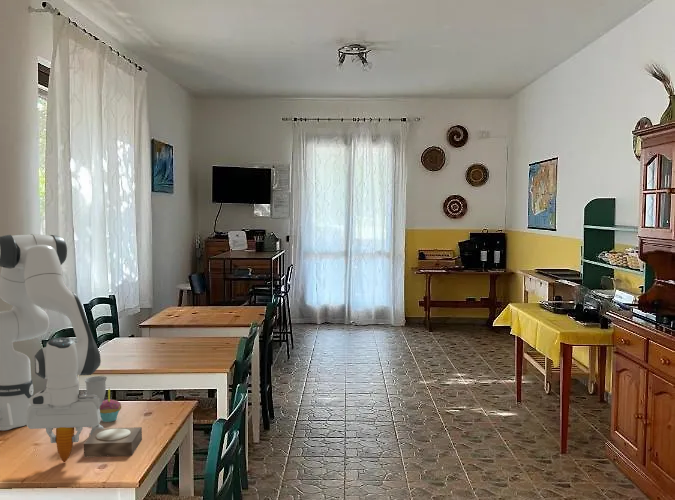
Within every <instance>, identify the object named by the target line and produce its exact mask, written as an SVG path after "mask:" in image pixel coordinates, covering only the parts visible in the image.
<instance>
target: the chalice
mask: <svg viewBox="0 0 675 500" xmlns="http://www.w3.org/2000/svg"><path fill="white" fill-rule="evenodd" d="M107 379H108V378H107V376H104V375H101V376H91V377H87V378H85V379H84V382H85V385H86V386H85V388H86V392H85V393H86V395H90V394H94V395H95V396H98V397H99V398H100V406H101V404H102V402H103V400H105V397H106V392H107V387H106V386H107V384H106V382H107ZM95 398H96V397H95ZM104 428H105V427H104V425H102V424H100V423H99V424H98V425H97V426H96V427H91V430H90V432H89V435H90V436H91V435H92V434H93V432H94V431H95V430H96V429H104Z"/></svg>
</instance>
